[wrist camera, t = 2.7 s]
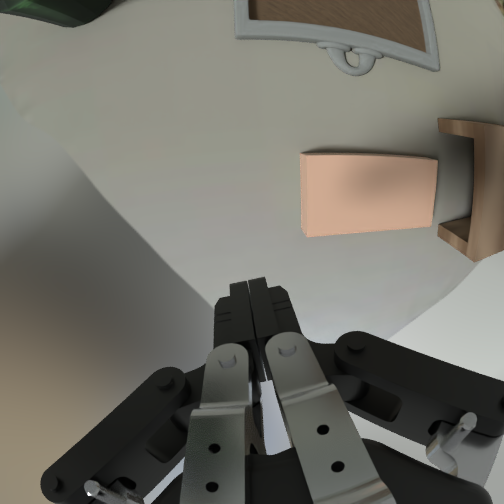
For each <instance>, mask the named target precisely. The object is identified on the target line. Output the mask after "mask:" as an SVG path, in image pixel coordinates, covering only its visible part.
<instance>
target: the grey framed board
mask: <svg viewBox="0 0 504 504" xmlns="http://www.w3.org/2000/svg"><path fill="white" fill-rule="evenodd" d="M234 31H235V39H240V40H241V39H260V40H286V41H299V42H309V43H317V46H318V47H319V48H322V49H326V50H327V52H328V54H329V56H330V58H331V60H332V61H333V63H334V64H335V65H336V66H337V67H338V68H339V69H340V70H341V71H343V72H345V73H346V74H349V75H352V76H360V75H363V74H365V73H367V72H368V71H370V70H371V68H372V66H373V64H374V61H375V58H376V59H379V58H382V57H383V56H385V57H389V58H393V59H396V60H400V61H403V62H406V63H409V64H412V65H415V66H418V67H421V68H424V69H427V70H430V71H433V72H435V71H439V70H440V66H439V57H438V49H437V42H436V35H435V29H434V24H433V19H432V14H431V10H430V5H429V1H428V0H234ZM351 49H352V52H353V53H355V54H358V55H359V65H358V67H352V66H350V65H349V64H348V63H347V62H346V59H345V54H344V52H348V51H350V50H351Z"/></svg>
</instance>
